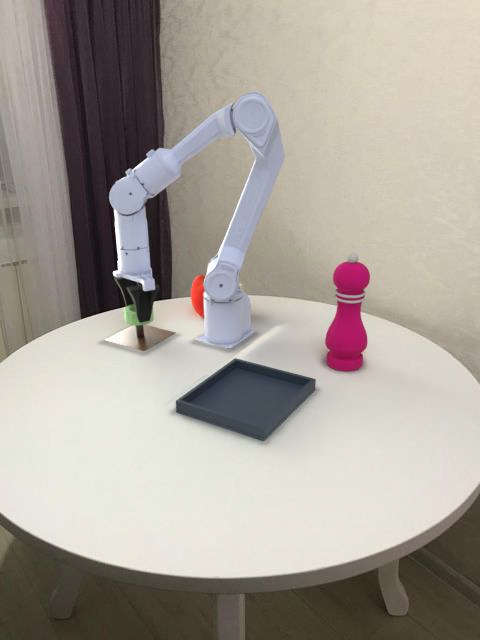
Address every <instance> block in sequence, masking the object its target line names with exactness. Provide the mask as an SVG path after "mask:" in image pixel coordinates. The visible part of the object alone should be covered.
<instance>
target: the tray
mask: <svg viewBox="0 0 480 640" xmlns="http://www.w3.org/2000/svg"><path fill="white" fill-rule="evenodd" d="M316 382H317V379H316V378H313V377H310V376H306V375H302V374H297V373H294V372H290V371H286V370H283V369H280V368H279V369H278V368H275V367H271V366H267V365H264V364H259V363H255V362H252V361H247V360H244V359H240V358H237V357H235V358H233V359H232V360H230V361H229V362H228V363H226V364H225V365H224V366H222V367H220V368H219V369H217V370H216V371H215V372H213V373H212V374H211V375H210V376H208V377H207V378H205V379H204V380H203V381H201V382H200V383H198V384H197V385H196V386H194V387H193V388H191V389H190V390H188V391H187V392H186V393H184V394H183V395H182V396H180V397H178V399H176V400H175V412H176V413H177V414H181V415H183V416H187V417H190V418H193V419H196V420H199V421H202V422H205V423H208V424H210V425H214V426H217V427H220V428H223V429H226V430H229V431H232V432H235V433H238V434H241V435H245V436H248V437H251V438H253V439H256V440H259V441H262V442H265V440H266V439H268V437H269V436H271V435H272V434H273V433H274V432H275V430H277V429H278V428H279V427H280V426H281V425H282V423H284V422H285V421H286V420H287V419H288V418H289V417H290V416H291V415H292V414H293V413H294V411H296V410H297V409H298V408H299V407H300V406H301V405H302V404H303V403H304V402H305V401H306V400H307V399H308V397H310V396H311V395H312V394H313V393H314V392H315V391H316Z"/></svg>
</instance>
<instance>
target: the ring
mask: <svg viewBox="0 0 480 640" xmlns="http://www.w3.org/2000/svg"><path fill="white" fill-rule="evenodd" d="M123 317H124V322H125V323H126V324H127V325H130V326H132V325H149V324H150V323H152V322H153V321H154V319H155V315H154V307H153V308H152V314H151V319H150V321H146V322H141V323H140V322H139V321H138V318H137V314H136V310H135V305H134V304H131V305H128V306H126V305H125V307H124V308H123Z"/></svg>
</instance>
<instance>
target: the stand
mask: <svg viewBox="0 0 480 640" xmlns="http://www.w3.org/2000/svg"><path fill="white" fill-rule="evenodd" d="M175 334H177V332H176V331H172V330H168V329H163V328H160V327H155V326H151V325H149V324H145V325H130V326H128V327H126V328H124V329H122V330H121V331H118V332H117V333H114V334H112V335H111V336H109V337H106V338H104V339H103V341H106V342H108V343H112V344H115V345H120V346H123V347H127V348H130V349H134V350H136V351H137V350H138V351H141V352H146V351H147V350H149V349H151V348H153V347H154V346H156V345H158V344H160V343H161V342H164V341H165V340H166V339H168V338H170V337H172V336H174V335H175Z"/></svg>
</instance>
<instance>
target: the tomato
mask: <svg viewBox="0 0 480 640" xmlns="http://www.w3.org/2000/svg"><path fill="white" fill-rule="evenodd" d="M205 277H206V274H200V275H197V276H196V277H195V278H194V280H193V281H192V285H191V288H190V300H191V304H192V307H193V309H194V311H195V313H197V314H198V315H199V316H200V317H202V318H204V295H203V294H204V292H205V290H204V279H205ZM239 289H241V288H240V287H239Z"/></svg>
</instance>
